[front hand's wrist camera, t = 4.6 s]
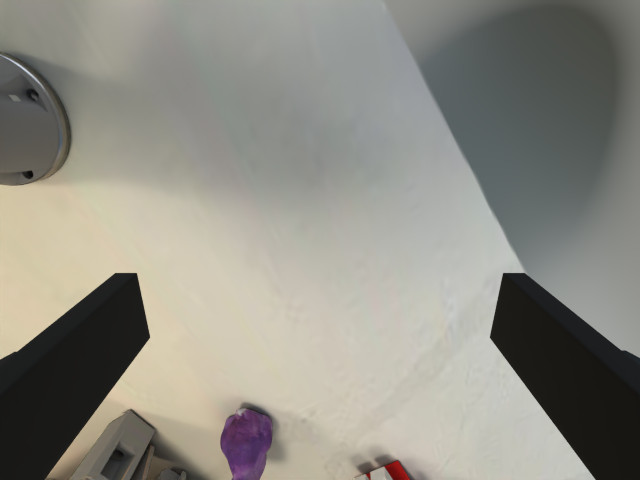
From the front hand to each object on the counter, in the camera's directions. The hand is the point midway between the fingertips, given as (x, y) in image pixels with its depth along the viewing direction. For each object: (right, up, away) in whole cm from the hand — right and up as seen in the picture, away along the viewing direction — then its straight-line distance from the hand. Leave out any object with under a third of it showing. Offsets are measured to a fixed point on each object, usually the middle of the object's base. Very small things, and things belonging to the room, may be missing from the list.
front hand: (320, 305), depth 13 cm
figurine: (-12, -30, +48) cm, 58 cm away
